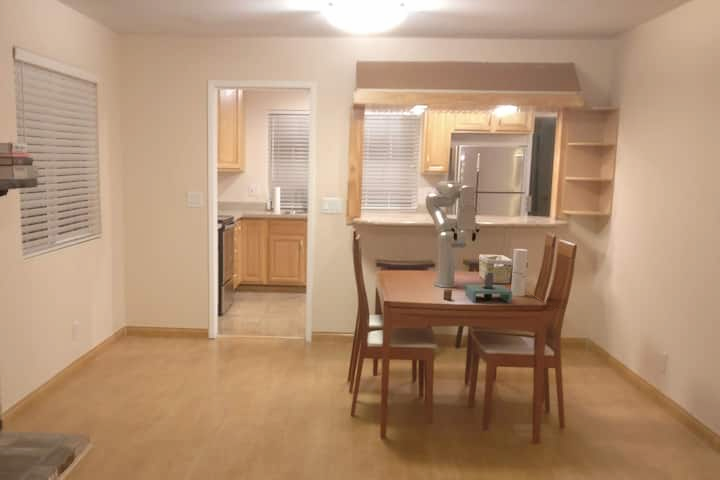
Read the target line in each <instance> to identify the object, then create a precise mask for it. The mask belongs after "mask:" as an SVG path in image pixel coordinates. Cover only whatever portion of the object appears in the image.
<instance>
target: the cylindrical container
mask: <svg viewBox="0 0 720 480" xmlns="http://www.w3.org/2000/svg"><path fill="white" fill-rule="evenodd" d="M528 251H529V250H528V249H524V248H514V249H513V257H512V258H513V259H512V260H513V265H512V271H511V287H510V289H511V290H510V291H512V297H513V296H515V297H525V291H526V281H527V280H526V279H527V277H526V275H527V266H528V263H527V262H528Z"/></svg>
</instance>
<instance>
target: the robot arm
mask: <svg viewBox="0 0 720 480" xmlns="http://www.w3.org/2000/svg"><path fill="white" fill-rule="evenodd" d="M435 189H436V191H437V192H432V193H429V194H428V195H426V197H425V208H426V210H427V213H428V214H429V215H430V217H431V218H432V221H433V223H434V227H435V230H436V232H437V233H438V236H437V243H438V261H437V264H438V265H437V266H438V267H437V281H435V282H434V286H435V287H440V288H446V289H448V288H449V289H450V288H456V287H457V283H455V271H456V254H455V252H454V250H453V249H465V248H466V247H468V245H469V235H468V232H467V231H472V234H471V241H472V242H475V241H476V239H477V238H476V237H477V234H478V233H479V232H480V230H481V228H482V225H481V224H479V223H477V221H476V211H475V210H477V209H478V207H477V206H475V200H476V187H475V186H474V185H471V184H461V183H460V181H458V180H441V181H439V182H438V183H437V184H436V187H435ZM458 199H459V210H457V213H456V216H455V218H451V217H450V218H449V217H448V216H447V214H446V212H445V210H443V209H442V208H451V207H454V205H455V204H456V203H457V200H458ZM476 227H477V228H476Z"/></svg>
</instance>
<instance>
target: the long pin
mask: <svg viewBox="0 0 720 480" xmlns="http://www.w3.org/2000/svg"><path fill="white" fill-rule="evenodd" d="M484 285H485V289H492V288H493V285H494V283H493V273H491V272H486V274H485V281H484ZM483 300H485V301H491V300H493V294H483Z"/></svg>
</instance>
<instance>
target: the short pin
mask: <svg viewBox="0 0 720 480" xmlns="http://www.w3.org/2000/svg"><path fill="white" fill-rule="evenodd" d="M452 292H453V291H452V289H450V288H449V289H448V288H446V289H445V288H444V289H443V300H444V301H452V297H453V296H452V294H453V293H452Z"/></svg>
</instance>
